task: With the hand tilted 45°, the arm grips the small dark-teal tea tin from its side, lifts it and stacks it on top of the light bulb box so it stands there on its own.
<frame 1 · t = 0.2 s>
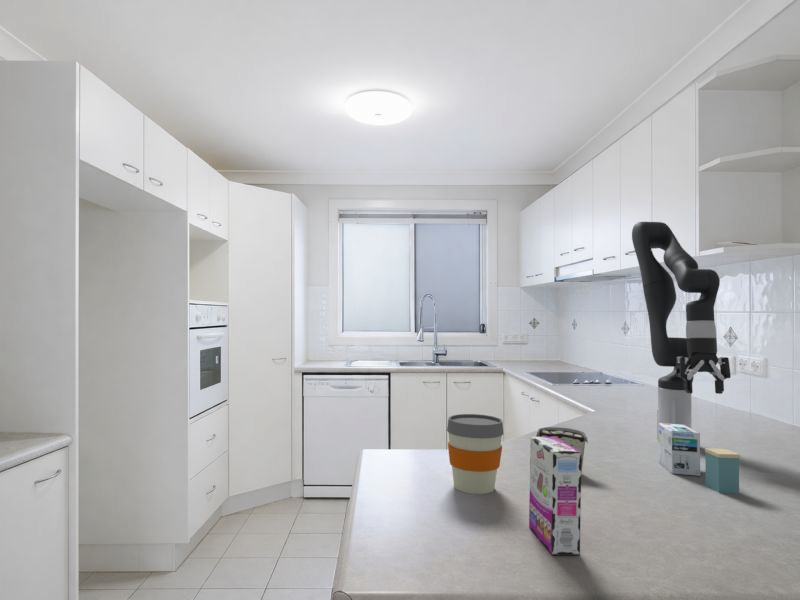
hand: (703, 393, 140), 18 cm above the counter, tool pointing down, fingers open, 8 cm apart
food container: (562, 470, 123), on the counter
candy bar box: (553, 541, 83), on the counter
tea tin: (722, 489, 111), on the counter
reusable coffee cup: (474, 487, 109), on the counter
light bulb box: (678, 470, 126), on the counter
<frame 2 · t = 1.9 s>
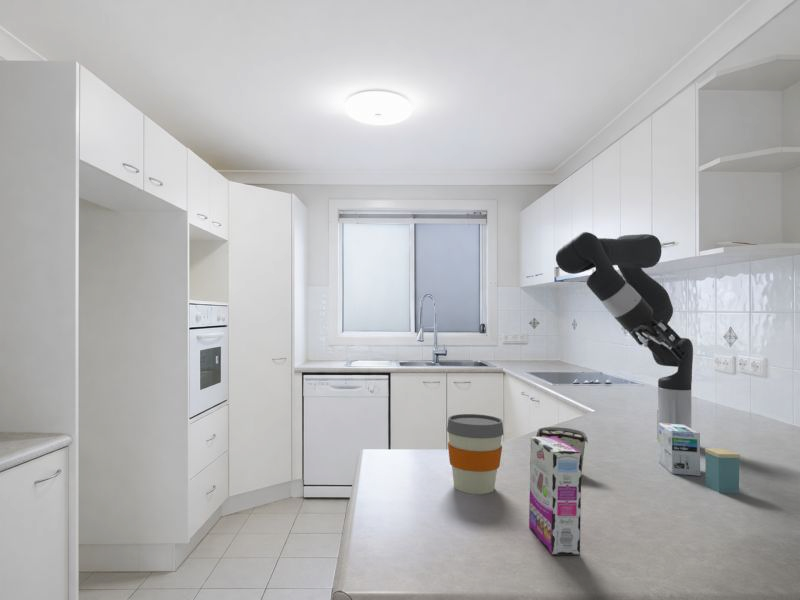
hand: (672, 357, 114), 30 cm above the counter, tool tilted 45°, fingers open, 8 cm apart
nothing on the counter moved.
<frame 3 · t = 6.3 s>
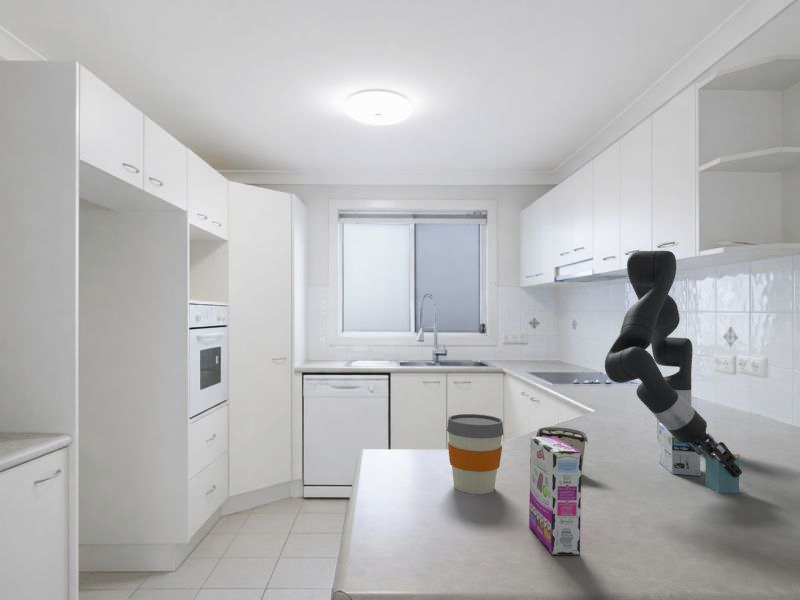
hand: (730, 470, 111), 4 cm above the counter, tool tilted 45°, fingers closed on tea tin, 4 cm apart
tea tin: (721, 489, 111), on the counter, touching gripper
everything else where it was.
when the fingers open (16 cm above the counter, at t = 10.5 s): tea tin drops 1 cm, resting on light bulb box.
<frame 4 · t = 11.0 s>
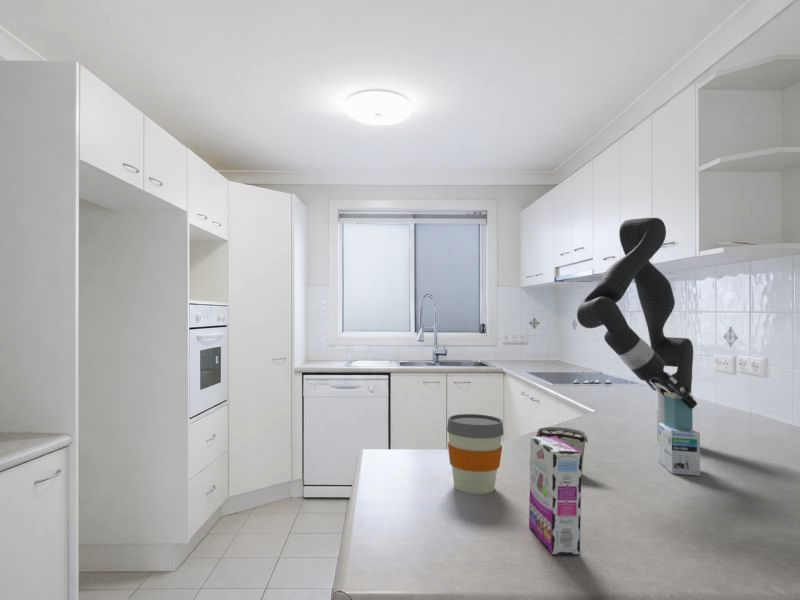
hand: (683, 403, 127), 17 cm above the counter, tool tilted 45°, fingers open, 8 cm apart
tea tin: (678, 427, 126), point 11 cm above the counter, touching light bulb box
light bulb box: (678, 470, 126), on the counter, touching tea tin
everything else where it was.
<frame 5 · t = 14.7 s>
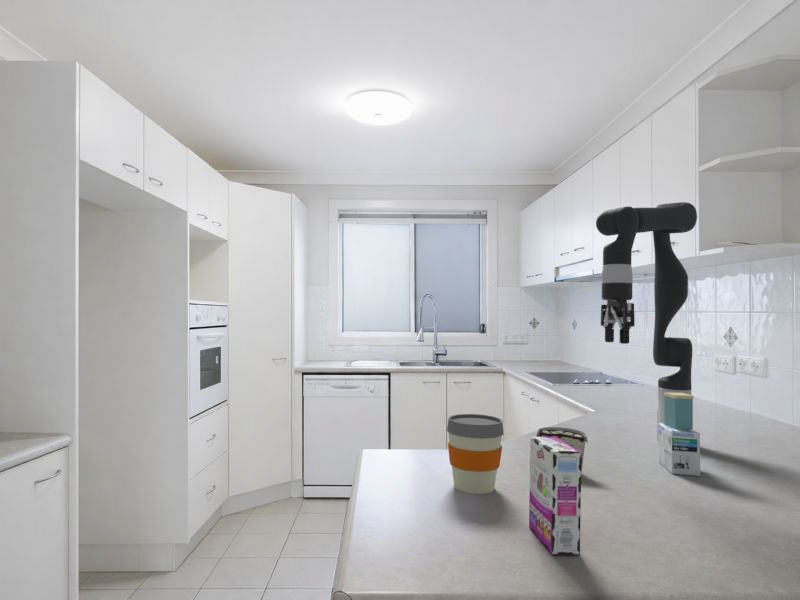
hand: (616, 342, 130), 32 cm above the counter, tool pointing down, fingers open, 8 cm apart
nothing on the counter moved.
at the end: tea tin 0.0 cm from the light bulb box (horizontally); tea tin point 10.7 cm above the counter; tea tin tilted 0° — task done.
